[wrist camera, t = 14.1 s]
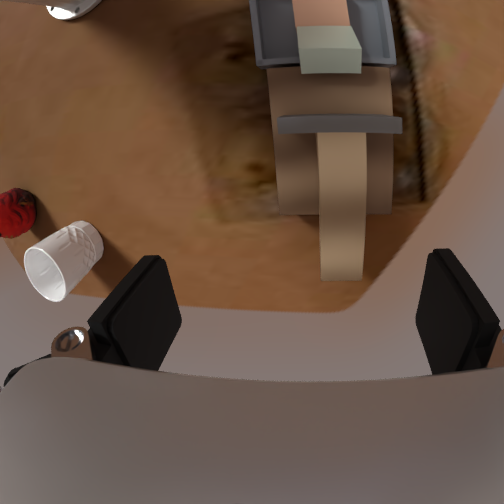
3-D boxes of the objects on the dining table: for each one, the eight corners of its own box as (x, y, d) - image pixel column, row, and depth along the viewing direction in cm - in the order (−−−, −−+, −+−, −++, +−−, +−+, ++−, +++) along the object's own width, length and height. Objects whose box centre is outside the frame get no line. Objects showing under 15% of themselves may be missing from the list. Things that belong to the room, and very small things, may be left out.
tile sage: (299, 48, 24) (296, 26, 22) (351, 47, 23) (351, 25, 21) (301, 73, 22) (298, 49, 20) (361, 73, 21) (361, 48, 19)
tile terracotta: (295, 28, 22) (296, 33, 25) (350, 27, 21) (347, 33, 24) (289, -16, 20) (291, -8, 22) (343, -17, 19) (340, -9, 21)
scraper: (283, 115, 26) (276, 117, 20) (383, 114, 24) (401, 117, 19) (292, 249, 31) (288, 280, 26) (380, 248, 30) (392, 279, 24)
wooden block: (271, 73, 27) (266, 68, 24) (380, 71, 25) (389, 67, 22) (282, 202, 34) (279, 215, 30) (382, 201, 31) (391, 214, 28)
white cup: (115, 241, 40) (72, 278, 31) (96, 274, 43) (58, 312, 35) (77, 205, 39) (29, 235, 30) (61, 241, 42) (20, 273, 33)
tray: (251, -14, 23) (246, -23, 20) (376, -16, 20) (382, -26, 18) (261, 69, 27) (256, 66, 25) (388, 67, 25) (396, 64, 22)
